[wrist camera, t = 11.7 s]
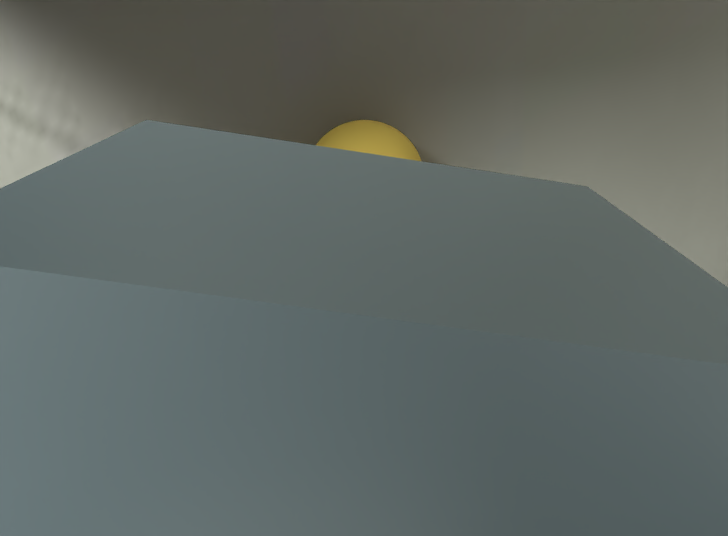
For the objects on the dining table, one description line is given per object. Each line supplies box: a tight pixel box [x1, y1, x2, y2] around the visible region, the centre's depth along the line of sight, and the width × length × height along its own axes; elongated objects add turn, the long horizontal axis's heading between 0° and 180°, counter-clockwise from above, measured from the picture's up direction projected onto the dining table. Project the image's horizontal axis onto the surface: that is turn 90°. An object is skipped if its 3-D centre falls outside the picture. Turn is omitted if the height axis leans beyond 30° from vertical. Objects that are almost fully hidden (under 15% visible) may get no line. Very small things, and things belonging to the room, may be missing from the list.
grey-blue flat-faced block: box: [0, 120, 728, 536], centre depth 13 cm, size 10×10×9 cm
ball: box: [316, 120, 421, 161], centre depth 27 cm, size 5×5×5 cm
